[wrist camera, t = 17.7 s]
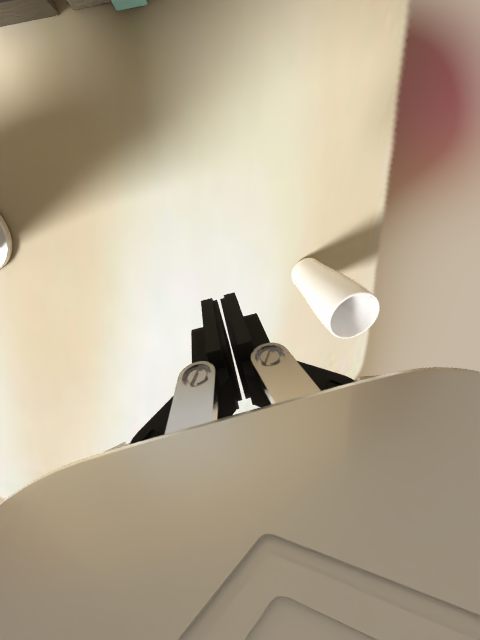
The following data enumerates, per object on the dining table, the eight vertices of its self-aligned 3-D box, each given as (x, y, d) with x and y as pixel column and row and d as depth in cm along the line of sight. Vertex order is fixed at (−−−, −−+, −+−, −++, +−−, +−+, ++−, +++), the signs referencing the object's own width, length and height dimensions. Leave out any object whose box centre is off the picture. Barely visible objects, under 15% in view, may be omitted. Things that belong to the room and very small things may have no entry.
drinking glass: (306, 244, 39) (360, 280, 27) (331, 266, 42) (391, 309, 30) (278, 276, 42) (316, 324, 29) (304, 296, 45) (349, 347, 32)
